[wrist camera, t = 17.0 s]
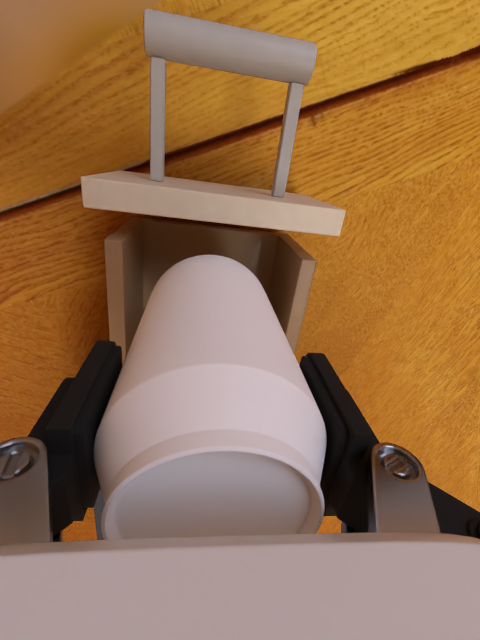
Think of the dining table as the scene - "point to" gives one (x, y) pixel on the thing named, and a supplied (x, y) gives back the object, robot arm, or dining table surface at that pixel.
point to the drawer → (211, 185)
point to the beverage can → (210, 416)
